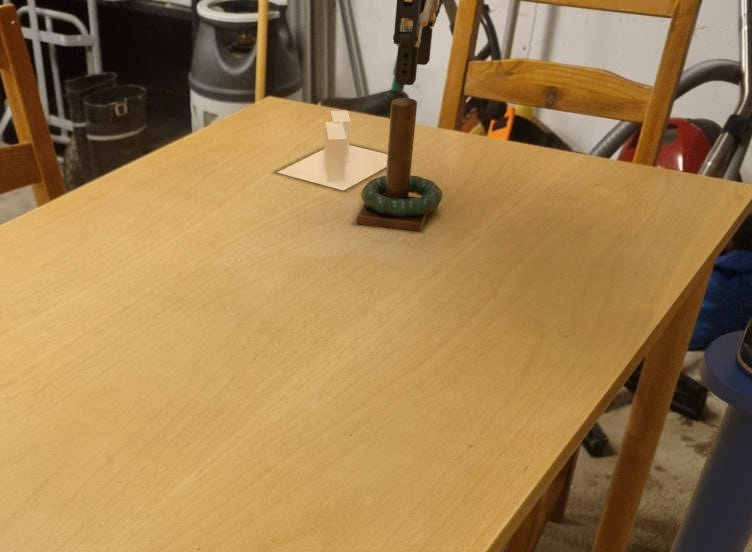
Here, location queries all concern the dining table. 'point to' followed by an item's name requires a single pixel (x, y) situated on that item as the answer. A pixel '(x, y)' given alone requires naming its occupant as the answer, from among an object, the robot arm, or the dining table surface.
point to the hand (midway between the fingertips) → (412, 73)
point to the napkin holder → (338, 158)
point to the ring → (402, 206)
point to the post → (397, 167)
